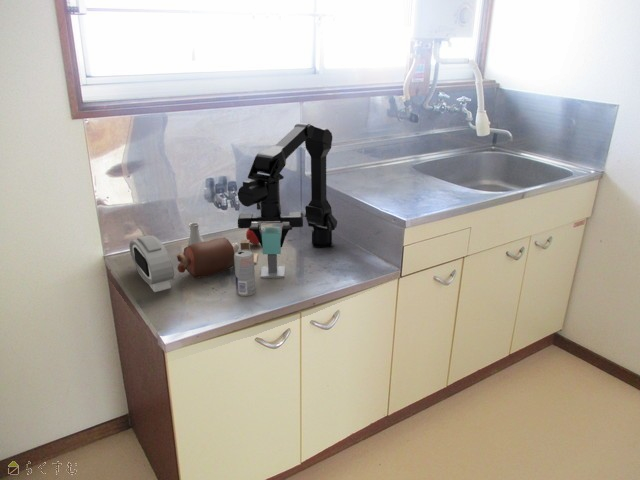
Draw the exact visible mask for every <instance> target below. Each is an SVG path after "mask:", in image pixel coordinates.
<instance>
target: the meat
mask: <svg viewBox="0 0 640 480" xmlns="http://www.w3.org/2000/svg"><path fill="white" fill-rule="evenodd" d="M238 250H240V246H239V244H238V242H232V243H231V242H230V240H229V239H228V238H226V237H219V238H213V239H211V240H207V241H204V242H199V243H195V244H192V245H190V246H188V245H187V246H185V248H184V249H183V253H181V252H180V253H178V254H177V255H176V259H177V262H179V263H178V264H177V270H178V272H179V273H185V271H187V272H188V273H189V275H190V276H191V277H192V278H193V279H200V278H205V277H209V276H210V277H211V276H213V275H217V274H220V273H222V272H224V271H226V270H230V269H232V268H233V267H235V265H234V255H235V252H236V251H238Z"/></svg>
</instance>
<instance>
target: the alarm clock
mask: <svg viewBox="0 0 640 480" xmlns="http://www.w3.org/2000/svg"><path fill="white" fill-rule="evenodd" d="M129 253H130V256H131V259H132V261H133V264H134V266H135V269H136V270H137V272H138V274H139V275H140V277H141V278H142V279H143V281H144V282H145V283H147V285H149V287H150V288H151V290H152V291H153V292H154V293H158V292H161V291H165V290H169V289H171V281H170V280H174V278H175V269H174V264H173V262H172V259H171V256H170V254H169V253H168V251H167V249H166V247H165V246H164V244H163V243H162V242H161V240H160V239H159V238H158V237H156V236H154V235H143V236H140V237H136V239H131V240H130V241H129Z"/></svg>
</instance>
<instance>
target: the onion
mask: <svg viewBox="0 0 640 480" xmlns="http://www.w3.org/2000/svg"><path fill="white" fill-rule="evenodd" d="M262 230H263V229H261V231H262ZM245 235H246V236H245V237H246V240H250V244H251V245H253V246H258V245H259V244H260V243H259V241H258V238H257V237H256V235H255V234H254V232H253V231H250V230H249V228H247V231H246V234H245Z"/></svg>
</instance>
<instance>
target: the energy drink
mask: <svg viewBox="0 0 640 480" xmlns="http://www.w3.org/2000/svg"><path fill="white" fill-rule="evenodd" d="M253 254H254V252H253V251H252V250H251V249H250V250H246V249H245V250H241V249H238V251H236V252H235V255H234V263H235V265H234V273H235V275H234V276H235V277H234V278H235V290H236V294H237V295H238V296H241V297H249V296H252V295H254V294H255V293H256V289H257V288H256V274H255V272H256V271H255V264H254V255H253Z"/></svg>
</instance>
